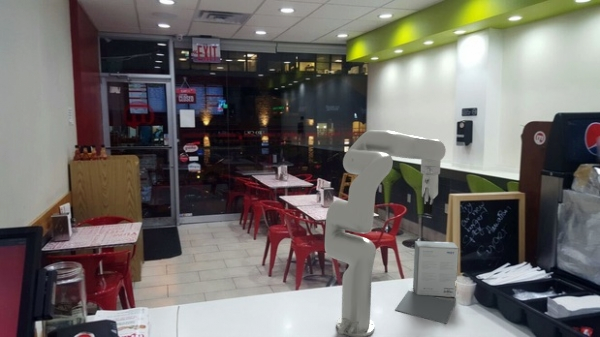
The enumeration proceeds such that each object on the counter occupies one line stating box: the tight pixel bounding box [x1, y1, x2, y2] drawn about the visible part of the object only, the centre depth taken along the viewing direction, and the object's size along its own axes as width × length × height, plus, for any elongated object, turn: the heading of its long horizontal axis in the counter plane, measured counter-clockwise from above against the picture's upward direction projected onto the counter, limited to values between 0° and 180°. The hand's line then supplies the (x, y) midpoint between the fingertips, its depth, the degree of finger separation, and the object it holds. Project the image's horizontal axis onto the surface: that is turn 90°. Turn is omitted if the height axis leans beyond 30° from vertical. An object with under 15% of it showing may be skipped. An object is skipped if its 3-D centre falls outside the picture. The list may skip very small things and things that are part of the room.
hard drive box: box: [412, 240, 460, 298], centre depth 160 cm, size 16×8×20 cm, turn 84°
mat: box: [394, 290, 456, 325], centre depth 150 cm, size 18×18×1 cm
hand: (428, 212), depth 167 cm, fingers closed
